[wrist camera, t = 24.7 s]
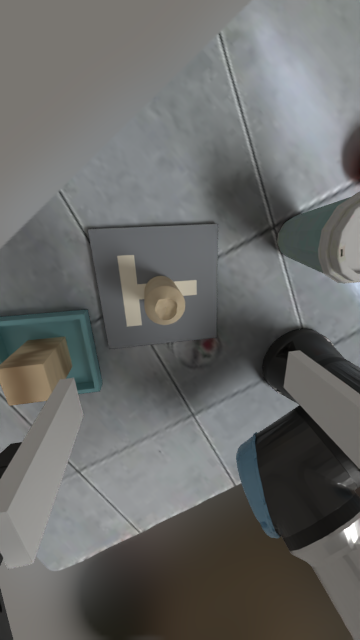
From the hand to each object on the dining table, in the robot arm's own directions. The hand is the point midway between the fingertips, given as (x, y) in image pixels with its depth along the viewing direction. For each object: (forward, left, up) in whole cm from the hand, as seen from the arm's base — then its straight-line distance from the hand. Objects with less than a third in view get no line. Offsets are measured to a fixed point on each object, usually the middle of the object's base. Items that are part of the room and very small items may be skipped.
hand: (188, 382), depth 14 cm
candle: (0, 0, -26) cm, 26 cm away
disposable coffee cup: (-24, -7, -27) cm, 37 cm away
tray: (+20, +10, -27) cm, 35 cm away
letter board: (0, 0, -27) cm, 27 cm away
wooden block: (+20, +10, -26) cm, 34 cm away
